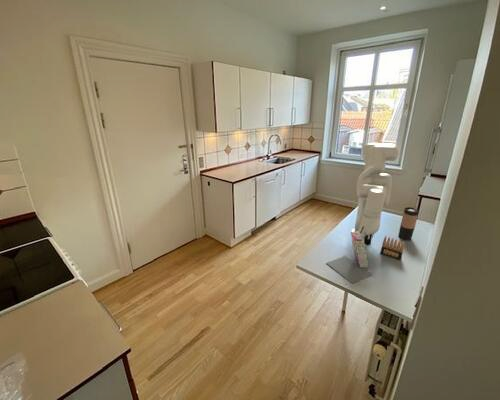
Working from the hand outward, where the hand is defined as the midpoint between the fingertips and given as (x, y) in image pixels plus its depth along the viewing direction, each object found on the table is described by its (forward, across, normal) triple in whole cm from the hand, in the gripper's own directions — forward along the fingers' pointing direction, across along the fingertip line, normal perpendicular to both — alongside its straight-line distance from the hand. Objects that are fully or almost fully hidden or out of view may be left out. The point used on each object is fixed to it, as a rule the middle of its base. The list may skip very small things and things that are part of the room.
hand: (366, 244), depth 128 cm
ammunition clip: (+12, -19, +3) cm, 23 cm away
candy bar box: (+12, +1, 0) cm, 12 cm away
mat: (+12, +11, 0) cm, 17 cm away
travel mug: (+12, -46, -6) cm, 48 cm away
